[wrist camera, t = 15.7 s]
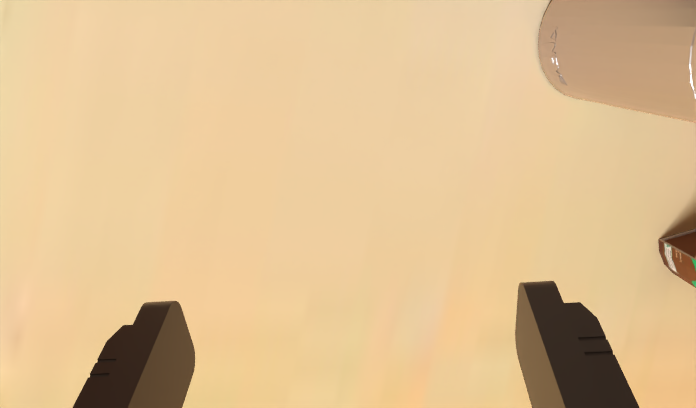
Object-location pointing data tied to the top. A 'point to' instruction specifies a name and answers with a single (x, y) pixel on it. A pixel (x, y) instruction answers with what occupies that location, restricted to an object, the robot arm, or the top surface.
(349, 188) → the top surface
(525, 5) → the top surface
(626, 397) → the robot arm
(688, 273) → the food container
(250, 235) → the top surface
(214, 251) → the top surface
